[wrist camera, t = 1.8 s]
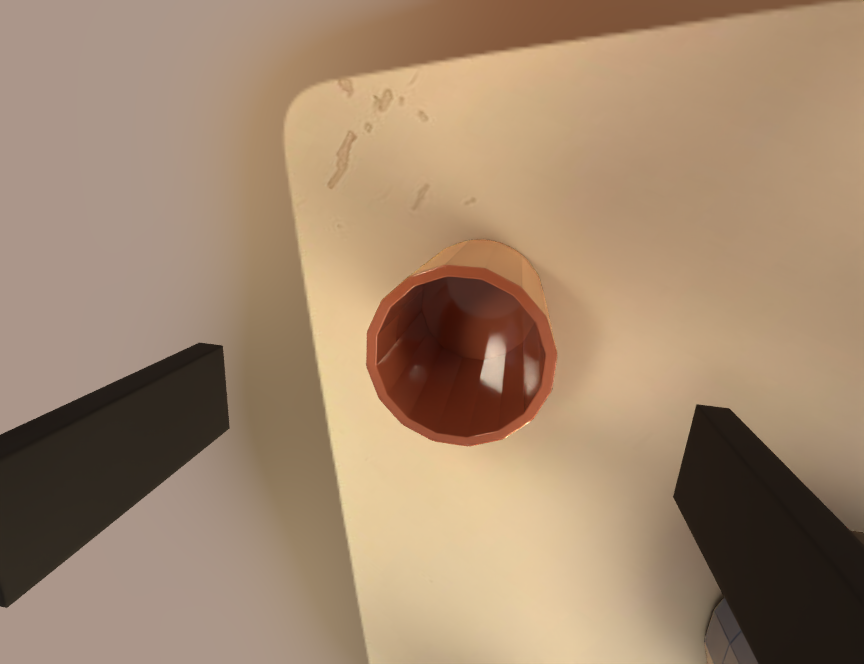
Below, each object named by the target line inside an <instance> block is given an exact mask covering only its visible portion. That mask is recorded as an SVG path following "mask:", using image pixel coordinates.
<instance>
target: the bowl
mask: <svg viewBox="0 0 864 664" xmlns="http://www.w3.org/2000/svg"><path fill="white" fill-rule="evenodd" d="M704 642H705V650H706V657H707V664H758V662H757V660H756V658H755V656H754V654H753V652H752V650H751V648H750V646H749V644H748V642H747V641H746V639H745V637H744V635H743V633H742V631H741V629H740V627H739V625H738V623H737V621H736V619H735V617H734V615H733V613H732V611H731V609H730V607H729V605H728V603H727V601H726V599H725V597H724V598H723V599H722V601H721V602H720V603H719V604H718V605H717V606H716V608H715V610H714V611H713V614H712V617H711V620H710V624H709V627H708V630H707V633H706V636H705V640H704Z"/></svg>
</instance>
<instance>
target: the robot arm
mask: <svg viewBox="0 0 864 664" xmlns="http://www.w3.org/2000/svg"><path fill="white" fill-rule="evenodd" d="M228 429H229V416H228V404H227V392H226V380H225V367H224V356H223V346H221V345H214V344H205V343H198V344H195V345H193V346H191V347H189V348H187V349H185V350H183V351H180V352H178V353H176V354H174V355H172V356H170V357H167V358H165V359H163V360H161V361H159V362H157V363H154V364H152V365H150V366H148V367H146V368H144V369H142V370H139V371H138V372H135V373H133V374H131V375H128V376H126V377H124V378H122V379H120V380H118V381H116V382H113V383H111V384H109V385H107V386H105V387H103V388H100V389H98V390H96V391H94V392H92V393H90V394H87V395H85V396H83V397H81V398H79V399H77V400H75V401H72V402H71V403H68V404H66V405H64V406H61V407H59V408H57V409H55V410H53V411H51V412H49V413H46V414H44V415H42V416H40V417H38V418H36V419H33V420H31V421H29V422H27V423H25V424H23V425H20V426H18V427H16V428H14V429H12V430H10V431H8V432H5V433H3V434H1V435H0V606H1V607H6V608H7V607H9V606H10V605H11V604H12V603H13V602H15V601H16V600H17V599H19V598H20V597H21V596H22V595H23V594H25V593H26V592H27V591H28V590H30V589H31V588H32V587H33V586H35V584H37V583H38V582H39V581H41V580H42V579H43V578H45V577H46V576H47V575H48V574H49V573H51V572H52V571H53V570H54V569H56V568H57V567H58V566H59V565H61V564H62V563H63V562H64V561H65V560H67V559H68V558H69V557H71V556H72V555H73V554H74V553H76V552H77V551H78V550H79V549H80V548H82V547H83V546H84V545H85V544H87V543H88V542H89V541H90V540H92V539H93V538H94V537H95V536H97V535H98V534H99V533H100V532H101V531H103V530H104V529H105V528H106V527H108V526H109V525H110V524H111V523H113V522H114V521H115V520H116V519H118V518H119V517H120V516H121V515H123V514H124V513H125V512H126V511H127V510H129V509H130V508H131V507H133V506H134V505H135V504H136V503H137V502H139V501H140V500H141V499H142V498H144V497H145V496H146V495H147V494H149V493H150V492H151V491H152V490H153V489H155V488H156V487H157V486H159V485H160V484H161V483H162V482H164V481H165V480H166V479H167V478H168V477H170V476H171V475H172V474H173V473H175V472H176V471H177V470H178V469H179V468H181V467H182V466H183V465H185V464H186V463H187V462H188V461H190V460H191V459H192V458H193V457H195V456H196V455H197V454H198V453H200V452H201V451H202V450H203V449H204V448H206V447H207V446H208V445H209V444H211V443H212V442H213V441H214V440H215V439H217V438H218V437H219V436H221V435H222V434H223V433H224V432H226V431H227V430H228ZM673 498H674V499H675V501H676V503H677V505H678V507H679V509H680V511H681V513H682V515H683V517H684V519H685V521H686V523H687V525H688V527H689V529H690V531H691V533H692V535H693V537H694V539H695V541H696V543H697V545H698V546H699V548H700V550H701V552H702V554H703V556H704V558H705V560H706V562H707V564H708V566H709V568H710V570H711V572H712V574H713V576H714V578H715V580H716V582H717V584H718V586H719V588H720V590H721V592H722V593H723V595H724V597H725V599H726V601H727V603H728V605H729V607H730V609H731V611H732V613H733V615H734V617H735V619H736V621H737V623H738V625H739V627H740V629H741V631H742V633H743V635H744V637H745V639H746V641H747V642H748V644H749V646H750V648H751V650H752V652H753V654H754V656H755V658H756V660H757V662H758V664H864V533H862V532H856V531H850V530H849V529H848V528H847V527H846V526H845V525H844V524H843V523H842V522H841V521H840V520H839V519H838V518H837V517H836V516H835V515H834V514H833V513H832V512H831V511H830V510H829V509H828V508H827V507H826V506H825V505H824V504H823V503H822V502H821V501H820V500H819V499H818V498H817V497H816V496H815V495H814V494H813V493H812V492H811V491H810V490H809V489H808V488H807V487H806V486H805V485H804V484H803V483H802V482H801V481H800V480H799V479H798V478H797V477H796V475H795V474H794V473H793V472H792V471H791V470H790V469H789V468H788V467H787V466H786V465H785V464H784V463H783V462H782V461H781V460H780V459H779V458H778V457H777V456H776V455H775V454H774V453H773V452H772V451H771V450H770V449H769V448H768V447H767V446H766V445H765V444H764V443H763V442H762V441H761V440H760V439H759V438H758V437H757V436H756V435H755V434H754V433H753V432H752V431H751V430H750V429H749V428H748V427H747V426H746V425H745V424H744V423H743V422H742V421H741V420H740V419H739V418H738V417H737V416H736V415H735V414H734V413H733V412H732V411H731V410H730V409H729V408H722V407H713V406H705V405H696V409H695V413H694V417H693V421H692V425H691V429H690V433H689V436H688V440H687V444H686V448H685V452H684V456H683V460H682V464H681V468H680V472H679V476H678V480H677V484H676V488H675V491H674V495H673Z"/></svg>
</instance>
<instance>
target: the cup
mask: <svg viewBox="0 0 864 664" xmlns="http://www.w3.org/2000/svg"><path fill="white" fill-rule="evenodd" d="M556 362H557V349H556V345H555V340H554V336H553V331H552V327H551V322H550V318H549V313H548V309H547V304H546V300H545V296H544V293H543V289H542V285H541V282H540V279H539V275H538V274H537V272H536V271H535V269H534V268H533V267H532V265H531V264H530V262H529V261H528V260H527V259H526V258H525V257H524V256H523V255H521V254H520V253H519V252H518V251H516V250H514V249H513V248H511V247H509V246H507V245H505V244H503V243H499V242H496V241H491V240H478V239H476V240H468V241H464V242H460V243H458V244H455V245H453V246H450V247H447V248H445V249H444V250H443V251H441V252H440V253H439V254H437V255H436V256H435V257H433V258H432V259H431V260H430V261H428V262H427V263H426V264H424V265H423V266H422V267H420V268H419V269H418V270H416V271H415V272H414V273H412V274H411V275H410V276H408V277H407V278H406V279H405V280H404V281H403V282H402V283H400V284H399V285H398V286H397V287H396V288H395V289H394V290H393V291H391V292H390V293H389V294H388V295H387V296H386V297H385V298H383V299H382V301H381V302H380V305H379V307H378V309H377V311H376V313H375V316H374V318H373V320H372V322H371V324H370V326H369V329H368V331H367V360H366V366H367V369H368V372H369V374H370V377H371V380H372V382H373V385H374V387H375V390H376V392H377V395H378V397H379V399H380V400H381V402H382V403H383V404H384V405H385V406H386V407H387V408H388V409H389V410H390V411H391V413H392V414H393V415H394V416H395V417H396V418H397V419H398V420H399V421H400V423H401V424H403V425H404V426H406V427H408V428H410V429H412V430H413V431H415V432H417V433H419V434H421V435H423V436H425V437H426V438H428V439H430V440H432V441H433V440H434V441H435V442H442V443H448V444H455V445H462V446H473V445H478V444H483V443H488V442H493V441H498V440H502V439H504V438H506V437H507V436H509V435H511V434H512V433H514V432H515V431H517V430H518V429H520V428H521V427H523V426H524V425H526V424H527V423H529V422H530V421H532V420H533V419H534V417H535V416H536V414H537V413H538V411H539V410H540V408H541V406H542V405H543V403H544V402H545V400H546V399H547V397H548V396H549V394H550V393H551V391H552V388H553V381H554V375H555V368H556Z"/></svg>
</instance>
